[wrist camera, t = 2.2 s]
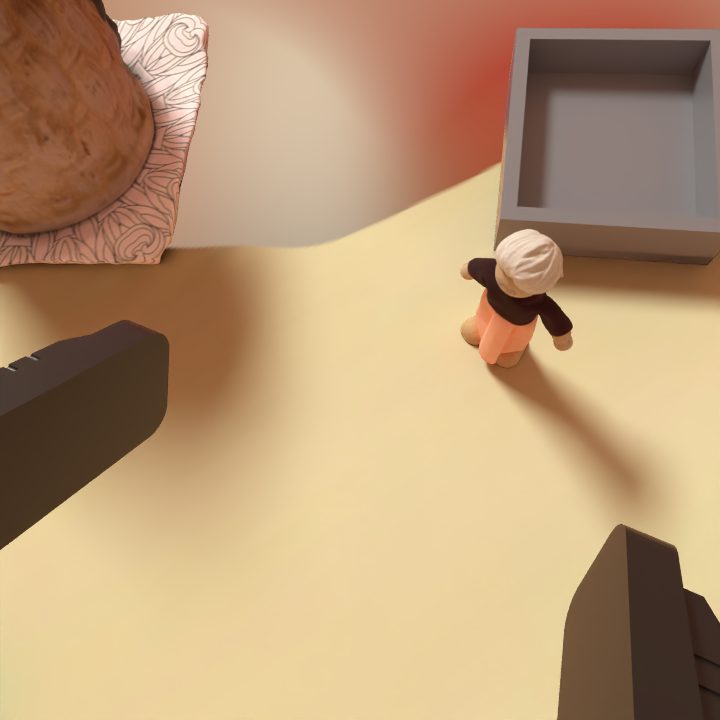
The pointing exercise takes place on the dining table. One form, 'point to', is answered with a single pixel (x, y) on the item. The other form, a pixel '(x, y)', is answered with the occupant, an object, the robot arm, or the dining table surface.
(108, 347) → the robot arm
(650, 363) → the dining table surface
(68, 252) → the cookie jar
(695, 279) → the dining table surface
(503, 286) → the grandmother figurine
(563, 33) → the tray
